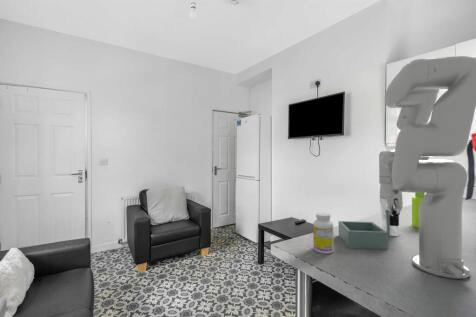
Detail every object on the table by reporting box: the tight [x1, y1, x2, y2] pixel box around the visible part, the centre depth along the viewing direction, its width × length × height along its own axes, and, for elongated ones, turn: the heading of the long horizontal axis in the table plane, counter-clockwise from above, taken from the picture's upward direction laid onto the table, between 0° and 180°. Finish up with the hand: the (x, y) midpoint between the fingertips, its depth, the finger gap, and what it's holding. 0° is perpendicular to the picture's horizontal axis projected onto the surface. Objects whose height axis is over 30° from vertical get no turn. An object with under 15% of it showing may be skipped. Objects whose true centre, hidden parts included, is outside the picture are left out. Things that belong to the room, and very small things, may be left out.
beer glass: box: [379, 197, 401, 237], centre depth 98 cm, size 7×7×15 cm
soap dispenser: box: [411, 193, 426, 229], centre depth 107 cm, size 6×7×20 cm
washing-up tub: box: [338, 220, 389, 251], centre depth 89 cm, size 13×13×6 cm
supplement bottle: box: [312, 212, 335, 255], centre depth 82 cm, size 7×7×13 cm
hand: (389, 222), depth 98 cm, fingers closed on beer glass, 6 cm apart
